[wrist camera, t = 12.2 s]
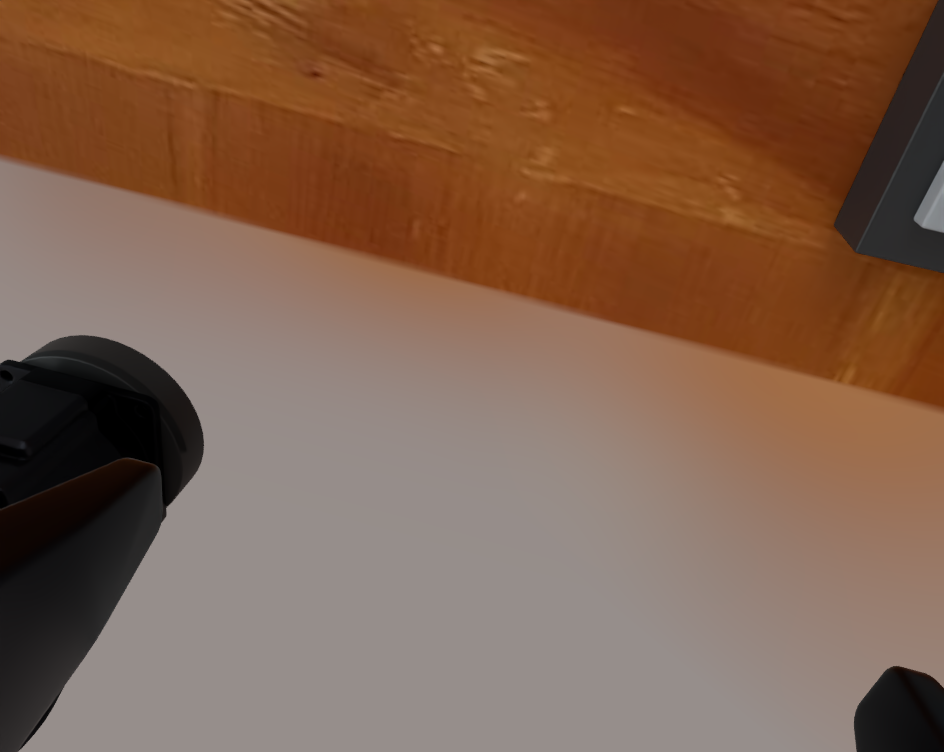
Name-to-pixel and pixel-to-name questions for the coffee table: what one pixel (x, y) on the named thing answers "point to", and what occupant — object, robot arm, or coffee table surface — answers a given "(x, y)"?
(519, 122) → the coffee table surface
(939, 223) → the scale
